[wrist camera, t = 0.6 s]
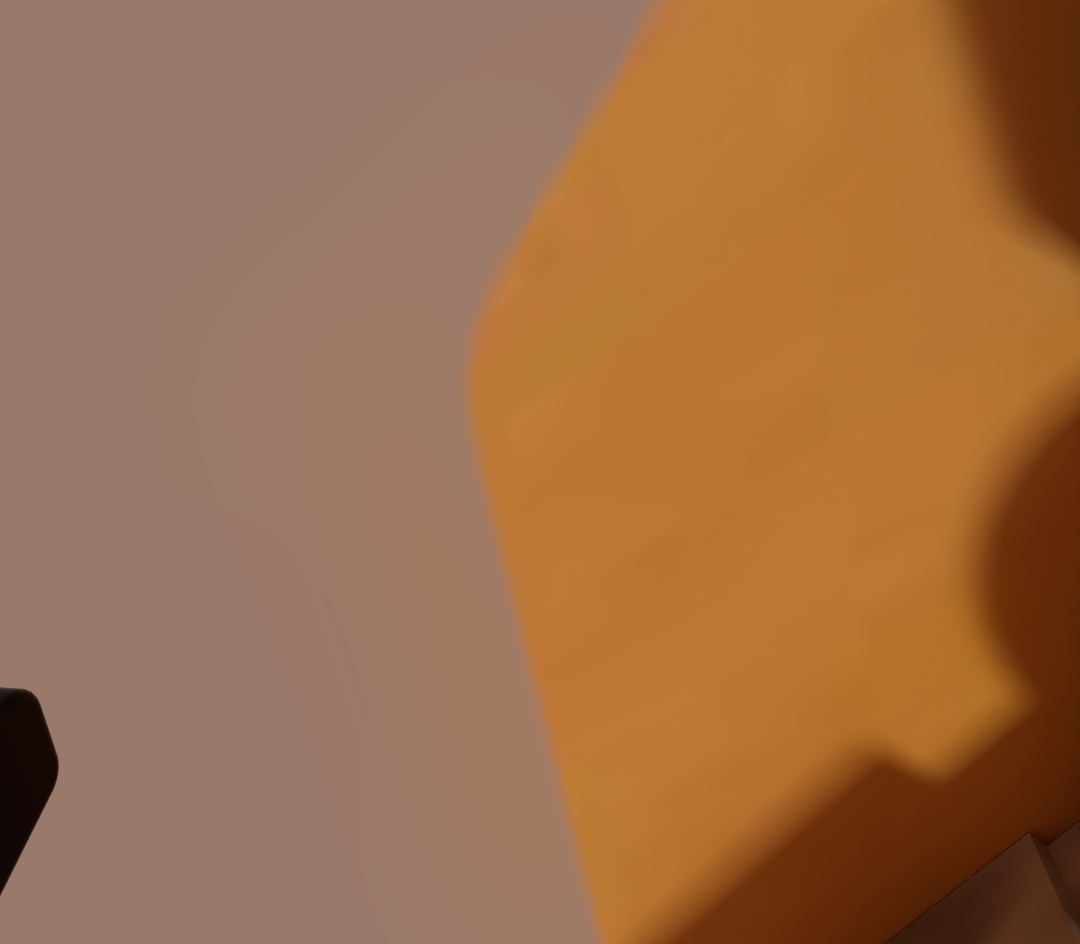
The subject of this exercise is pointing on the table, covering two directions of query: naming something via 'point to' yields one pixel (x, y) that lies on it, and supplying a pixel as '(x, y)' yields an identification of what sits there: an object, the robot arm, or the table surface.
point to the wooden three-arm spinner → (1011, 899)
